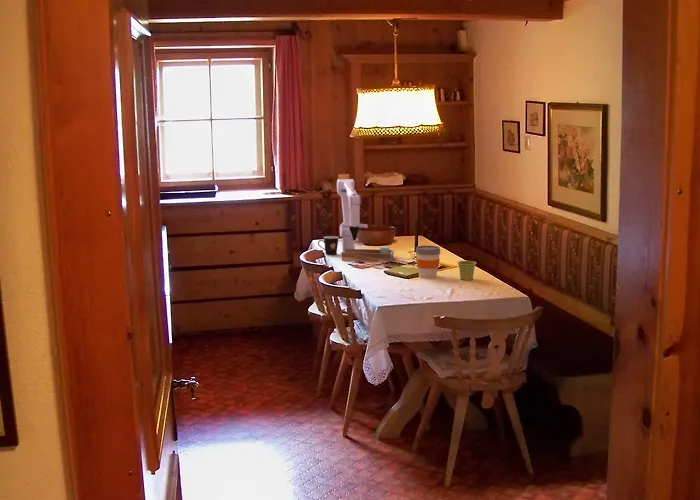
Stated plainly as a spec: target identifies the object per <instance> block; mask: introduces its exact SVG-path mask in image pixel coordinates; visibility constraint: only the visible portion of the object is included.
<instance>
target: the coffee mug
mask: <svg viewBox="0 0 700 500" xmlns="http://www.w3.org/2000/svg"><path fill="white" fill-rule="evenodd" d="M320 242H322V243H324V247H322V246H321V245H320ZM317 244H318V246H319V247H320V248H321V249H323V250H324V251H325V255H326V256H335V255H337V253H338V245H339V236H337V235H336V236H334V235H329V236H328V235H326V236H323V239H319V241H318V242H317Z"/></svg>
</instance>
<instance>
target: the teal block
mask: <svg viewBox="0 0 700 500" xmlns="http://www.w3.org/2000/svg"><path fill="white" fill-rule="evenodd" d="M380 250H381V253H385V254H389V250H390V246H381V247H380Z"/></svg>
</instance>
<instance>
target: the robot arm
mask: <svg viewBox="0 0 700 500" xmlns="http://www.w3.org/2000/svg"><path fill="white" fill-rule="evenodd" d="M336 193H337V195H338V196H340V200H341V208H342V209H341V210H342V219H343V222H342V223H341V224H340V225H339V237H340V238H341V239H342V241H341V242H342V244H341V246H342V247H341V248H342V251H341V252H340V255H342V252H345V249H356V243H355V242H356V241H357V237H358V233H359V231H360V228H361V229H363V228H365V229H368V223H366V224H365V223H360V210H361V208H360V206H361V204H362V197H361V195H360V194H358V193H357V191H356V189H355V180H354V179H353V178H350V179H346V178H345V179H339V178H337V180H336Z"/></svg>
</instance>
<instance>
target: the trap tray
mask: <svg viewBox="0 0 700 500" xmlns="http://www.w3.org/2000/svg"><path fill="white" fill-rule="evenodd" d="M341 252H342V251H341ZM394 254H395V251H394V249H389V254H385V253H381V249H372V248H371V249H369V248H367V249H366V248H355V249H345V252H342V254H341V261H344V262H345V261H346V262H350V261H351V262H352V261H353V262H375V261H391V262H392V261H393V260H394V257H395V256H394Z"/></svg>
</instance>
